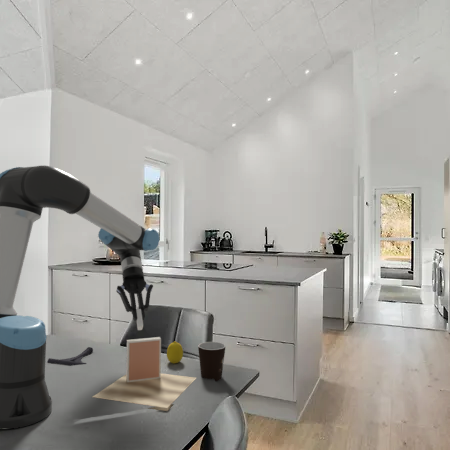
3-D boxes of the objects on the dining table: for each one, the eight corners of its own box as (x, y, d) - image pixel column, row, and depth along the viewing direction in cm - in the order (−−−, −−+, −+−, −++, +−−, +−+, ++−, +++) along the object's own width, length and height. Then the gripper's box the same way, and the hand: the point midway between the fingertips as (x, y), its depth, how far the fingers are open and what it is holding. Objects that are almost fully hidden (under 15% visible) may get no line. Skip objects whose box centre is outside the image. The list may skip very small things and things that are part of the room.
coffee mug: (215, 385, 120) (215, 351, 120) (192, 379, 125) (192, 346, 125) (235, 373, 130) (235, 342, 130) (212, 368, 134) (213, 338, 134)
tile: (126, 379, 121) (126, 339, 121) (159, 375, 125) (159, 337, 125) (127, 382, 119) (127, 341, 119) (160, 378, 123) (161, 338, 123)
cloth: (167, 411, 102) (167, 408, 102) (92, 399, 108) (92, 396, 108) (196, 380, 123) (196, 377, 123) (132, 372, 129) (132, 369, 130)
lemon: (186, 364, 137) (186, 341, 138) (173, 368, 133) (174, 344, 133) (175, 361, 141) (176, 338, 141) (163, 364, 137) (163, 341, 137)
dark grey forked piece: (108, 355, 148) (108, 348, 148) (83, 368, 134) (83, 360, 134) (74, 352, 152) (75, 344, 152) (47, 364, 138) (47, 356, 138)
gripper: (148, 277, 153) (158, 332, 137) (113, 278, 148) (119, 335, 132) (151, 265, 148) (161, 320, 133) (115, 265, 143) (121, 323, 128)
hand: (140, 327), depth 133 cm, fingers closed
